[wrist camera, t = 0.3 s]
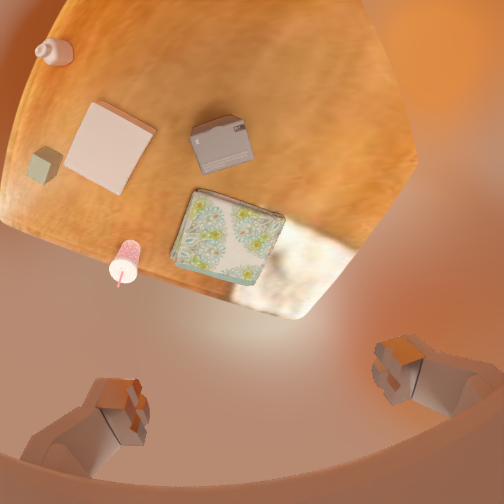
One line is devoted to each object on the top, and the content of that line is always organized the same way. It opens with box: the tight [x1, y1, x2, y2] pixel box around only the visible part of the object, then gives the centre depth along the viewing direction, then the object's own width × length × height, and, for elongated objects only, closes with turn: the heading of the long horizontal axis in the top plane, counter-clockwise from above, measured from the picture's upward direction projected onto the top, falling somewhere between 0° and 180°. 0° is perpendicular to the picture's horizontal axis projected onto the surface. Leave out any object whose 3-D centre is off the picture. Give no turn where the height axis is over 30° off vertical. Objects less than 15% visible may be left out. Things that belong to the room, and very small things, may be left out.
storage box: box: [64, 101, 157, 196], centre depth 47 cm, size 13×13×6 cm
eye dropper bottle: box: [35, 38, 74, 66], centre depth 32 cm, size 4×6×12 cm
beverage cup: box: [109, 240, 141, 288], centre depth 57 cm, size 6×6×14 cm
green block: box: [27, 146, 63, 185], centre depth 46 cm, size 5×5×6 cm
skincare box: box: [189, 115, 254, 175], centre depth 46 cm, size 8×7×16 cm
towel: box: [169, 189, 286, 286], centre depth 63 cm, size 18×21×5 cm
